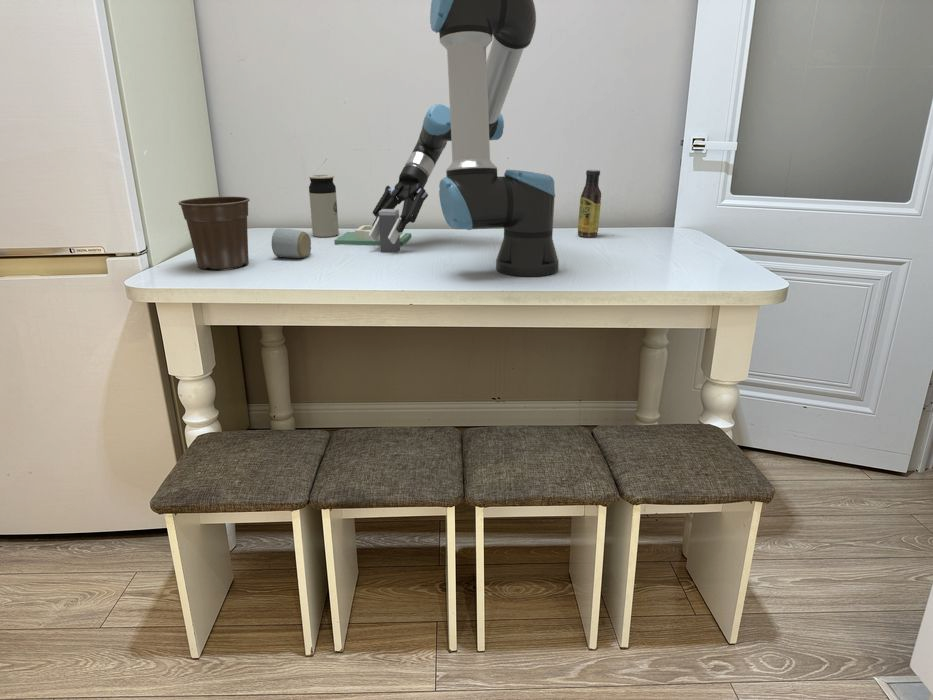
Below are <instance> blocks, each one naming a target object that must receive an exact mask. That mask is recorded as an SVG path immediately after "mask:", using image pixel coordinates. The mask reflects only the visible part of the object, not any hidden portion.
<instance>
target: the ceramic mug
mask: <svg viewBox="0 0 933 700" xmlns="http://www.w3.org/2000/svg"><path fill="white" fill-rule="evenodd" d="M271 249H272V253H273V255H274V256H275V257H277V258H284V259H285V258H286V259H287V258H288V259H305V258H307V256H308V255H309V254H310V253H311V252H312V240H311V237H310V235H309V234H308V232H307V231H304V230H300V229H291V228H285V227H277V228H276V229H275V230H274V231H273V233H272V237H271Z"/></svg>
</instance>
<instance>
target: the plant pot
mask: <svg viewBox="0 0 933 700" xmlns="http://www.w3.org/2000/svg"><path fill="white" fill-rule="evenodd" d="M250 200H251V199H250V198H249V197H245V196H206V197H197V198H189V199H188V198H187V199H183V200H180V201H178V205H179V206H180V208H181V210H182V214H183V217H184V220H185V221H186V225H187V228H188V233H189V237H190V241H191V244H192V248H193V251H194V256H195V260H196V265H197V268H199V269H201V268H203V269H202V270H208V269H211V270H213V269H219V270H223V269H225V270H233V269H235V268H236V269H237V268H241V267H243V265H244V266H247V265H248V264H249V239H248V238H249V236H248V216H249V202H250ZM207 268H208V269H207ZM232 268H233V269H232Z"/></svg>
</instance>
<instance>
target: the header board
mask: <svg viewBox="0 0 933 700" xmlns="http://www.w3.org/2000/svg"><path fill="white" fill-rule="evenodd" d="M372 228H373V227H372V225H367V224H365V225H361V226H359V227H358V228H357V229H355V231H347V232H344V234H341V235H340V236H339V237H337V238H335V239H334V241H333V242H334V245H339V244H355V245H354V246H380V234H379V236H378V238H377V239H376V241H373V240H372V239H371V238H370V237H369V233H370V231H371V229H372ZM411 238H412V232H402V233H400V247H403V246H404V245H405V244H406V243H407V242H408V241H409V240H410V239H411ZM356 244H357V245H356Z"/></svg>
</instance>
